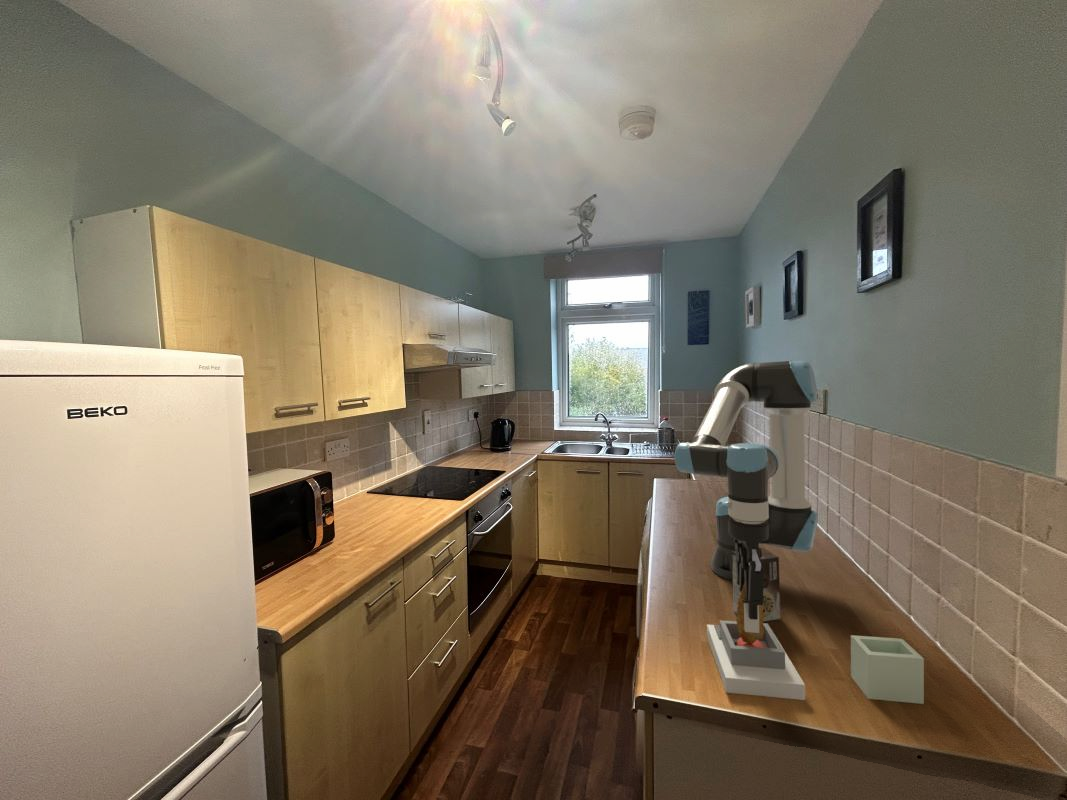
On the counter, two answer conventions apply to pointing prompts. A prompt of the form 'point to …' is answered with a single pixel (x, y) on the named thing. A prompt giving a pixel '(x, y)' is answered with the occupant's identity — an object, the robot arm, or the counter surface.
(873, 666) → the box
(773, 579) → the coffee box
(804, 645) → the counter surface
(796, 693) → the panel
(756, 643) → the pink dome
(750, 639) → the stone tool
